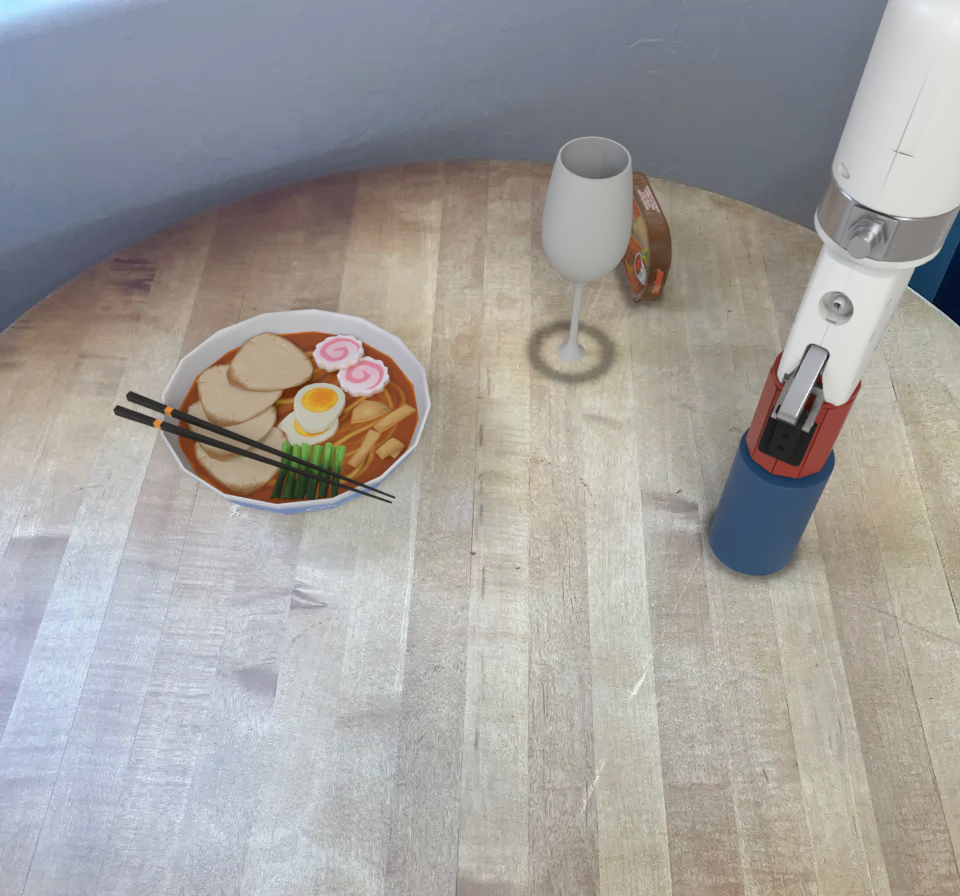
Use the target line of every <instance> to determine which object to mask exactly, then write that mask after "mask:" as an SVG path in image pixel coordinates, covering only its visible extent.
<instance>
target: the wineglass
mask: <svg viewBox="0 0 960 896" xmlns="http://www.w3.org/2000/svg"><path fill="white" fill-rule="evenodd" d="M555 158H556V159H555V162H554V165H553V168H552V172H551V175H550V179H549V183H548V188H547V192H546V196H545V200H544V206H543V211H542V218H541V231H540V232H541V233H540V235H541V236H540V237H541V245H542V249H543V252H544V255H545V257H546V260H547V261H548V262H549V264H550V265H551V266H552V267H553V269H554V270H555V271H556V272H557V273H558V274H559V275H560V276H562V277H563V278H565V279H567V280H568V281H570V282H572V283H573V289H574V290H573V291H574V293H573V303H572V309H571V311H572V312H571V319H570V328H569V336H568V340H567V341H566V342H563V343H561V344H560V345H559V346H558V347H557V350H556V352H557V353H556V354H557V355H558V357H559V358H561V359H562V360H563V361H565V362H569V363H574V362H580V361H581V360H582V359H584V357H585V356H586V349H585V347H584V346H583V344H580V343H578V333H579V323H580V317H581V316H580V315H581V308H582V300H583V292H584V288H585V286H586V285H587V284H589V283H593V282H595V281H597V280H598V281H599V280H600V279H602V278H603V277H605V276H607V275H608V274H609V273H611V272H612V271H613V270H615V269H616V268H617V267H618V266H619V264H620V262H621V259H622V258H623V256H624V255H625V252H626V250H627V247H628V243H629V240H630V235H631V229H632V210H633V174H632V171H633V161H632V156H631V154H630V152H629V150H628V149H627V148H626V147H625V146H624V145H622V144H621V143H620V142H618V141H615V140H613V139H611V138H607V137H603V136H583V137H577V138H574V139H571V140H569V141H568V142H566V143H564V145H562V146H561V147H560V149H559V151H558V153H557V155H556V157H555Z"/></svg>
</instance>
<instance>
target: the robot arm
mask: <svg viewBox="0 0 960 896" xmlns="http://www.w3.org/2000/svg"><path fill="white" fill-rule="evenodd" d="M865 64H866V65H865V66H864V69H863V73H862V76H861V78H860V81H859V84H858V87H857V90H856V92H855V95H854V98H853V101H852V105H851V107H850V111H849V113H848V116H847V119H846V122H845V125H844V128H843V131H842V134H841V137H840V139H839V142H838V146H837V149H836V150H835V155H834V158H833V161H832V163H831V166H830V168H829V172H828V174H827V178H826V181H825V184H824V187H823V189H822V192H821V195H820V198H819V201H818V204H817V207H816V210H815V212H814V216H813V225H814V229H815V231H816V233H817V235H818V237H819V238H820V240H821V241H822V242H823V244H822V247H821V249H820V251H819V254H818V257H817V259H816V262H815V264H814V267H813V270H812V272H811V274H810V276H809V277H810V278H809V280H808V284H807V285H806V288H805V291H804V293H803V296H802V299H801V302H800V304H799V307H798V309H797V313H796V315H795V318H794V321H793V323H792V326H791V329H790V331H789V334H788V337H787V341H786V343H785V345H784V349H783V350H784V352H783V355H782V358H781V361H780V364H779V368H778V372H777V375H778V379H779V381H780V382H781V383H783V382H784V381H786V383H785V385H784V387H783V389H782V392H781V394H780V396H779V398H778V401H777V403H776V405H775V406H774V407H773V409H772V410H771V413H770V415H769V418H768V421H767V424H766V426H765V429H764V432H763V434H762V437H761V440H760V442H759V445H758V450H759V451H760V452H762V453H764V454H766V455H769V456H771V457H773V458H776V459H778V460H780V461H783V462H785V463H787V464H790V465H792V466H795V467H797V466H799V465H800V464H801V462H802V460H803V458H804V456H805V453H806V451H807V449H808V446H809V444H810V442H811V439H812V437H813V435H814V433H815V430H816V428H817V426H818V424H817V423H815V420H816V418H817V416H818V413H819V411H820V409H821V407H822V405H823V403H824V401H826V402H828V403H831V404H834V405H835V406H839V405H842V404H844V403H846V402H847V401H848V399H849V398H850V396H851V395H852V393H853V392H854V390H855V388H856V387H857V385H858V383H859V381H860V380H861V381H862V378H863V376H864V374H865V373H866V371H867V369H868V367H869V366H870V364H871V362H872V360H873V359H874V357H875V355H876V354H877V352H878V350H879V348H880V346H881V344H882V342H883V341H884V339H885V337H886V335H887V333H888V331H889V329H890V326H891V324H892V323H893V320H894V316H895V314H896V313H897V310H898V307H899V305H900V303H901V301H902V298H903V296H904V295H905V291H906V289H907V287H908V285H909V283H910V281H911V279H912V276H913V274H914V272H915V270H916V268H917V267H920V266H922V265H925V264H926V263H928V262H930V261H932V260H933V259H934V258H935V257H936V256H938V255H939V253H940V251H941V250H942V248H943V246H944V244H945V241H946V239H947V237H948V236H949V233H950V231H951V228H952V227H953V224H954V223H955V220H956V218H957V216H958V214H959V212H960V0H888V1H887V3H886V6H885V9H884V11H883V14H882V17H881V21H880V23H879V26H878V29H877V32H876V34H875V38H874V40H873V43H872V47H871V50H870V51H869V55H868V58H867V61H866V63H865ZM819 375H822V383H820V382H818V381H817V379H818V377H819ZM810 394H811V395H814V396H816V399H815V401H814V403H813V405H812V407H811V409H810V411H809V412H808V411H807V410H804V405H805V403H806V401H807V399H808V397H809V395H810Z"/></svg>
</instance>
